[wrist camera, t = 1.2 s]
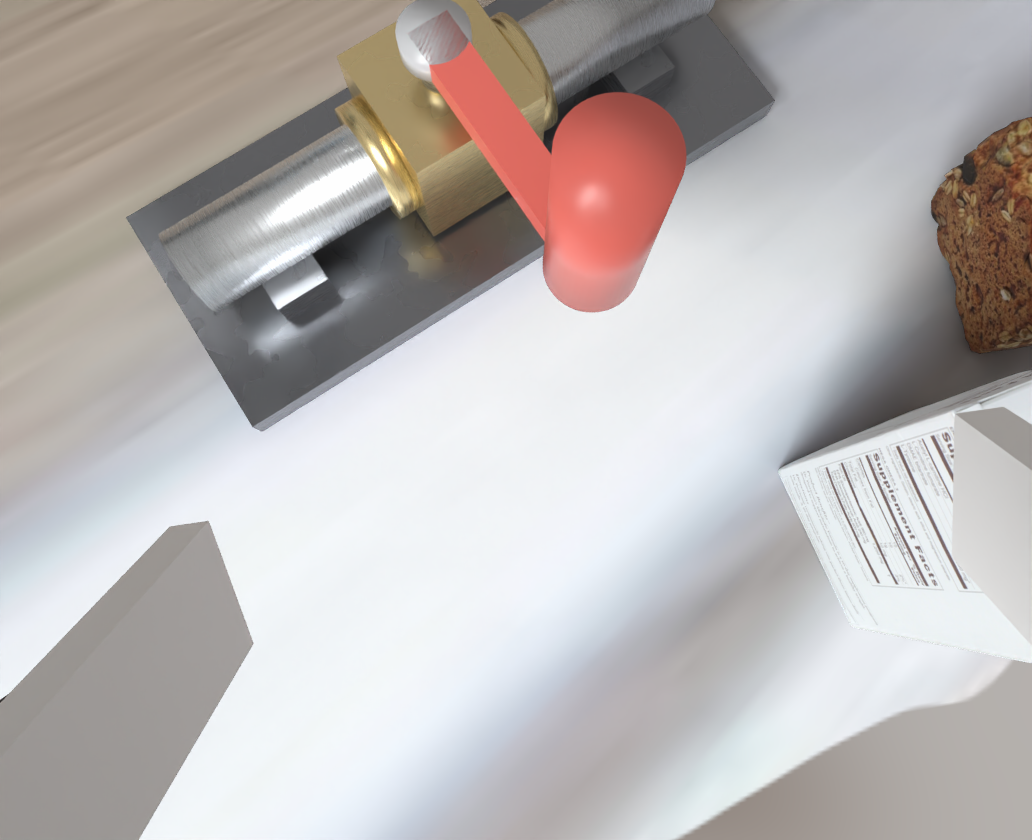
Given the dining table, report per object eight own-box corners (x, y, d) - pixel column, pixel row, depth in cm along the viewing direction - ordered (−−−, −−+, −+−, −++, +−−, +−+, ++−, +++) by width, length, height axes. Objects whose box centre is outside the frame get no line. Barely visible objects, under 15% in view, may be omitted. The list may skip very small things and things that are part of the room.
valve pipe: (262, 431, 42) (175, 390, 31) (139, 228, 44) (19, 126, 33) (766, 115, 45) (841, -19, 34) (629, -60, 47) (661, -236, 36)
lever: (378, 44, 34) (326, -142, 25) (455, -1, 34) (432, -201, 25) (578, 331, 31) (601, 241, 22) (658, 279, 32) (713, 171, 23)
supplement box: (849, 632, 40) (1085, 689, 23) (771, 469, 41) (940, 411, 25) (1012, 560, 40) (1356, 564, 24) (929, 401, 42) (1198, 301, 25)
